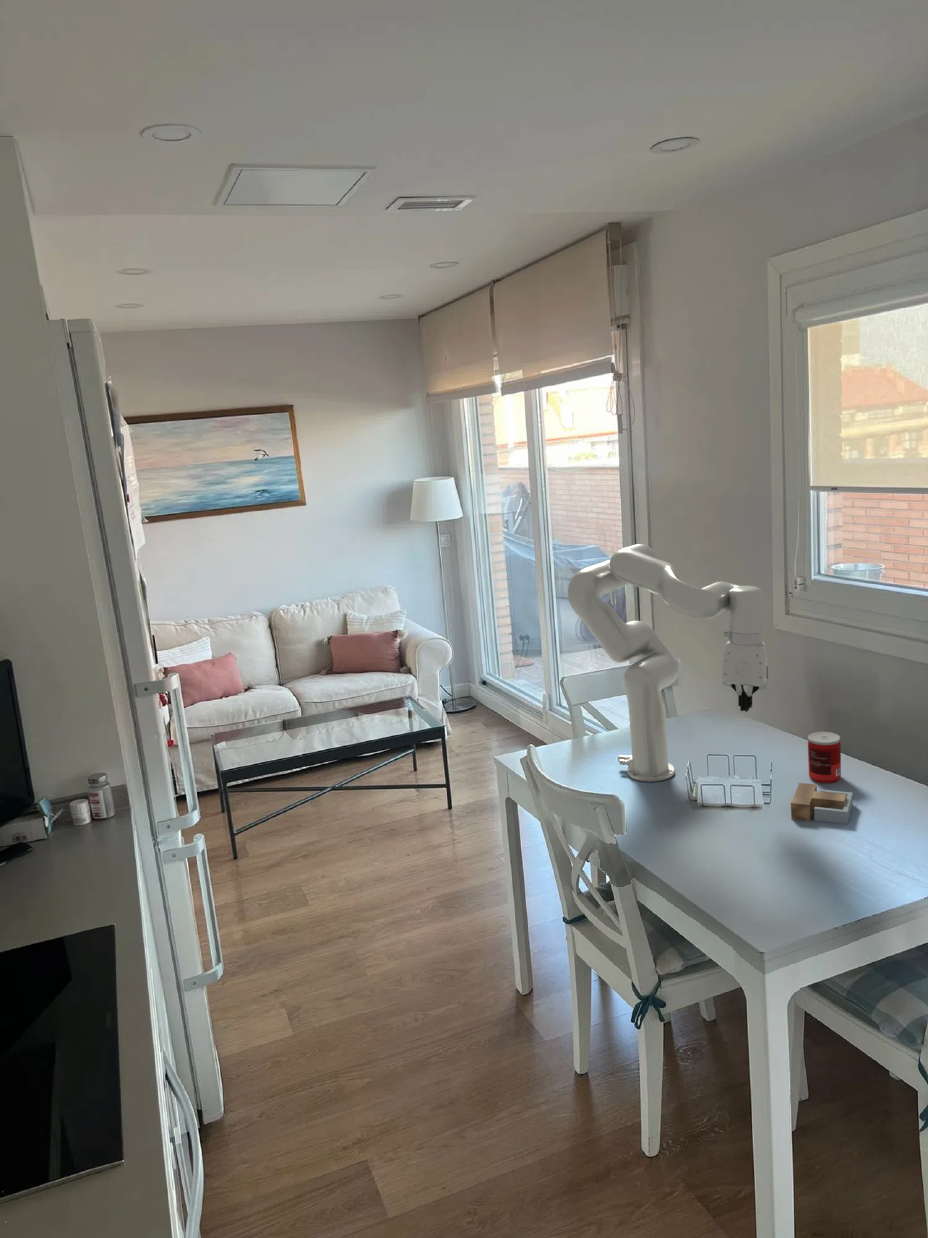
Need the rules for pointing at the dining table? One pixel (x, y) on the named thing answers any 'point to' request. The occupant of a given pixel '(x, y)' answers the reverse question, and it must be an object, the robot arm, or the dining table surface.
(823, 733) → the canned food
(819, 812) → the bracket
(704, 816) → the dining table surface
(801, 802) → the t block
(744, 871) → the dining table surface
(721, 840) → the dining table surface
